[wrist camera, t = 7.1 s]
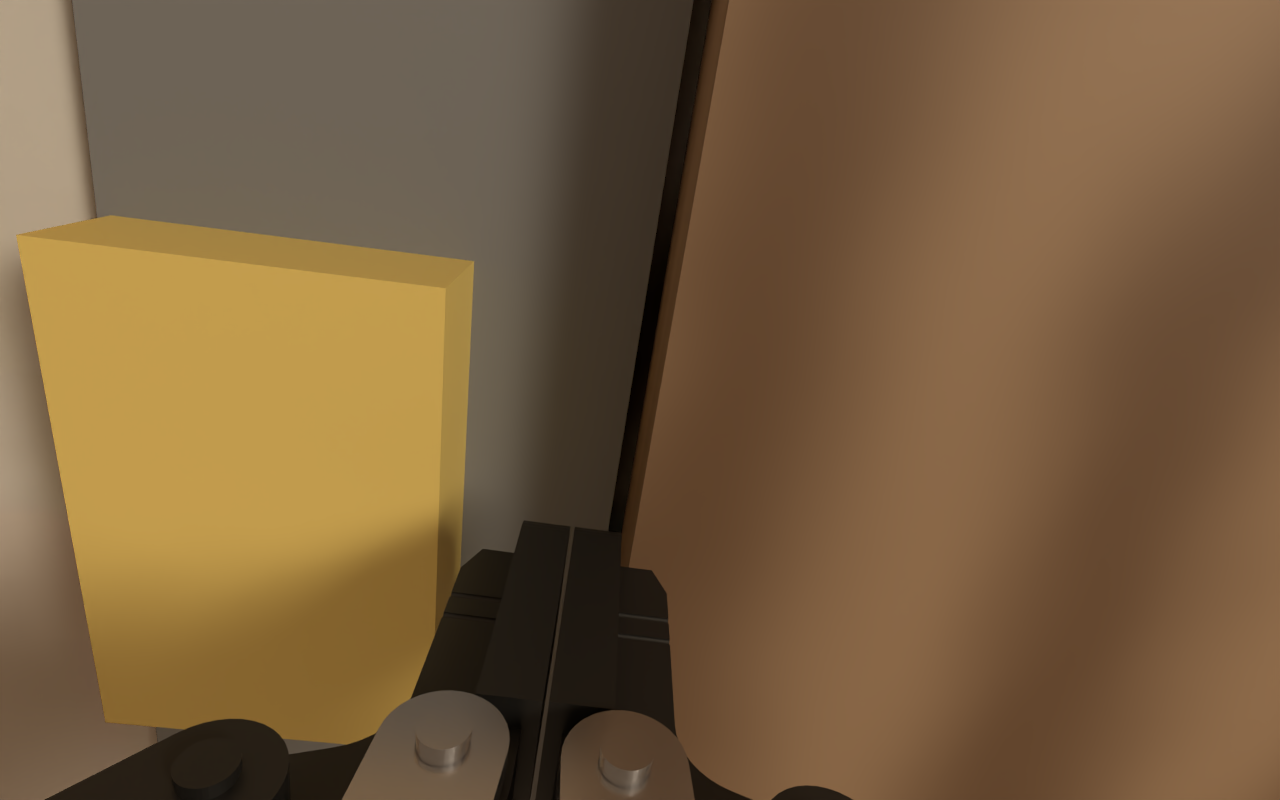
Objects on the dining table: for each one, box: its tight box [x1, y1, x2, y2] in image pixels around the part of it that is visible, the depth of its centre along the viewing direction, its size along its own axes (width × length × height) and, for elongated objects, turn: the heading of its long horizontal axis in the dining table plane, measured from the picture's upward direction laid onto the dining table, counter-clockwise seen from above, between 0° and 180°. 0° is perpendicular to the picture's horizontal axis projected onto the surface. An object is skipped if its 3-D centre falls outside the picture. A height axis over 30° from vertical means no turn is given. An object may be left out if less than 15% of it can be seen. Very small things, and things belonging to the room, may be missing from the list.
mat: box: [72, 0, 694, 800], centre depth 14 cm, size 9×20×1 cm, turn 171°
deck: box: [621, 0, 1280, 800], centre depth 14 cm, size 16×20×3 cm
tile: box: [16, 215, 474, 745], centre depth 13 cm, size 6×9×2 cm, turn 173°
